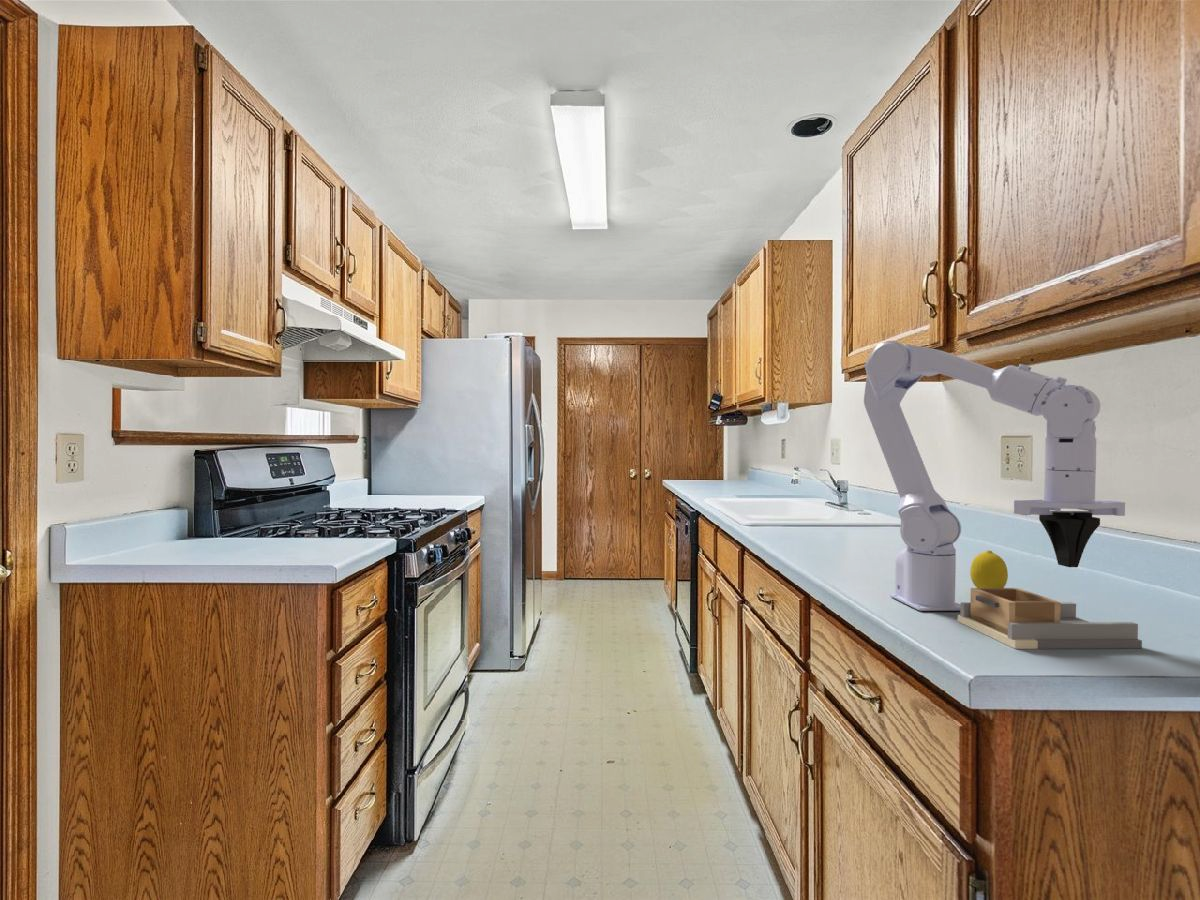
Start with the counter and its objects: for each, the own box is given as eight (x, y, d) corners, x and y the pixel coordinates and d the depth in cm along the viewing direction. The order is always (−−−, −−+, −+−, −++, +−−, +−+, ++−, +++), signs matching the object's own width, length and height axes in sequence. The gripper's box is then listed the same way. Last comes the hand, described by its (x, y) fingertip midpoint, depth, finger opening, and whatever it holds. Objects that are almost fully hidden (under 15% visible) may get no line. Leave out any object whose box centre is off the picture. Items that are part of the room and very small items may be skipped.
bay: (957, 621, 91) (958, 601, 91) (1068, 621, 91) (1068, 601, 91) (1015, 648, 79) (1015, 625, 79) (1141, 648, 79) (1142, 625, 79)
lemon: (992, 591, 109) (993, 547, 109) (1015, 600, 104) (1015, 553, 104) (962, 592, 109) (963, 547, 109) (983, 600, 103) (984, 553, 103)
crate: (966, 617, 89) (966, 588, 89) (1016, 617, 89) (1017, 587, 89) (1004, 635, 81) (1004, 602, 81) (1059, 635, 81) (1060, 602, 81)
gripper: (1040, 471, 82) (1038, 571, 82) (1145, 472, 82) (1143, 572, 82) (1004, 468, 89) (1002, 561, 89) (1101, 469, 89) (1099, 561, 89)
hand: (1067, 565), depth 86 cm, fingers closed
